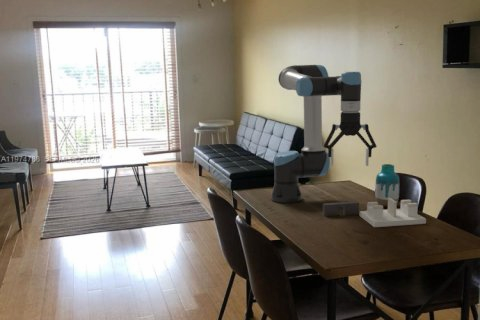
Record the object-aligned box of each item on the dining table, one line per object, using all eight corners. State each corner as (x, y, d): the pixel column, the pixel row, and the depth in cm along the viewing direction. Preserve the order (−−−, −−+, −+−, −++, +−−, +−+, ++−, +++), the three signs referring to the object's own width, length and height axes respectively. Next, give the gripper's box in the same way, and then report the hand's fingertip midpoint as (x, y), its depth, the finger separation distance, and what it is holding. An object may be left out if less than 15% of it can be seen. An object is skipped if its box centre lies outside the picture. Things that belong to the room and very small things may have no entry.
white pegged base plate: (359, 215, 216) (359, 196, 214) (407, 212, 219) (407, 193, 217) (374, 227, 200) (375, 206, 199) (425, 223, 203) (426, 203, 202)
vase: (390, 210, 223) (391, 168, 219) (370, 205, 230) (371, 165, 227) (403, 205, 229) (404, 164, 226) (383, 201, 237) (384, 162, 234)
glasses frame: (322, 214, 219) (322, 203, 218) (356, 212, 221) (356, 201, 220) (324, 216, 216) (324, 205, 215) (358, 213, 219) (358, 202, 218)
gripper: (318, 113, 192) (317, 166, 196) (384, 112, 189) (383, 167, 193) (317, 111, 199) (317, 163, 203) (381, 110, 196) (380, 163, 200)
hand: (349, 165), depth 198 cm, fingers open, 13 cm apart
